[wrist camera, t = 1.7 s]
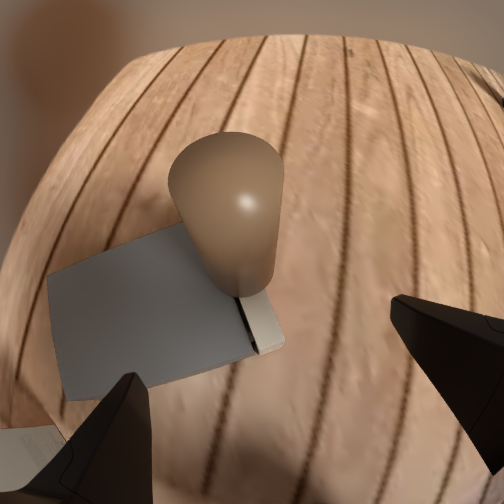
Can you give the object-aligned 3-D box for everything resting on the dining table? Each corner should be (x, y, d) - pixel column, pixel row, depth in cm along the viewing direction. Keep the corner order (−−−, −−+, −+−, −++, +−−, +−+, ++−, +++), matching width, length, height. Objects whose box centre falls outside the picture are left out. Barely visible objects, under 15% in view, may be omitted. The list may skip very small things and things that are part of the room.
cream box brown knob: (108, 399, 19) (-31, 399, 6) (84, 285, 23) (-27, 205, 10) (294, 342, 21) (350, 288, 8) (247, 226, 25) (233, 83, 12)
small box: (55, 422, 18) (-55, 425, 6) (95, 479, 16) (-5, 519, 4) (20, 453, 16) (-72, 459, 4) (55, 503, 14) (-32, 532, 2)
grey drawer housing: (97, 399, 19) (66, 401, 15) (75, 292, 23) (46, 275, 19) (255, 354, 21) (253, 350, 17) (213, 241, 25) (204, 214, 20)
